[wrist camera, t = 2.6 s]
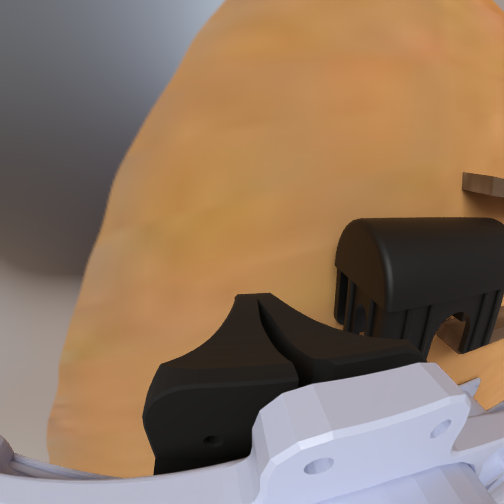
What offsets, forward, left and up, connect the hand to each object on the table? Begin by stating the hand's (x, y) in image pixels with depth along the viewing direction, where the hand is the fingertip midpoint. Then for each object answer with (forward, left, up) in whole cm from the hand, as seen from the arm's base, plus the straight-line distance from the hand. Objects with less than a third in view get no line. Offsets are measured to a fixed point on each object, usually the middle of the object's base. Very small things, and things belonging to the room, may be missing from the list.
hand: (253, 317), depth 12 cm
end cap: (0, -10, -6) cm, 12 cm away
